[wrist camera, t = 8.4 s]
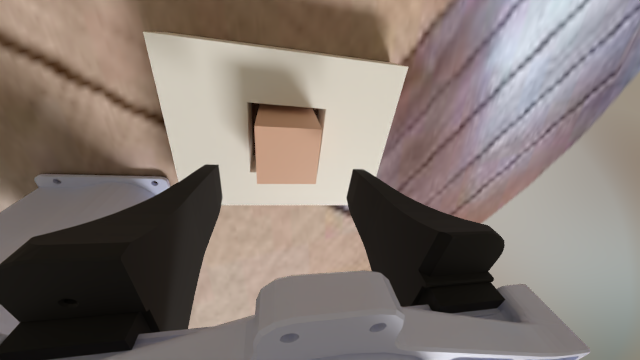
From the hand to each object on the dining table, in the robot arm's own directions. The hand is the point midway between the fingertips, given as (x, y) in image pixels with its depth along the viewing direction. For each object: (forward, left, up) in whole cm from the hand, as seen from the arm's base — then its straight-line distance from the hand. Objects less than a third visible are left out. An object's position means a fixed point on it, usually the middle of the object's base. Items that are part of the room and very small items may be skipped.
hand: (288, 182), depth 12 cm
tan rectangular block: (0, 0, -9) cm, 9 cm away
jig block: (0, 0, -9) cm, 9 cm away
